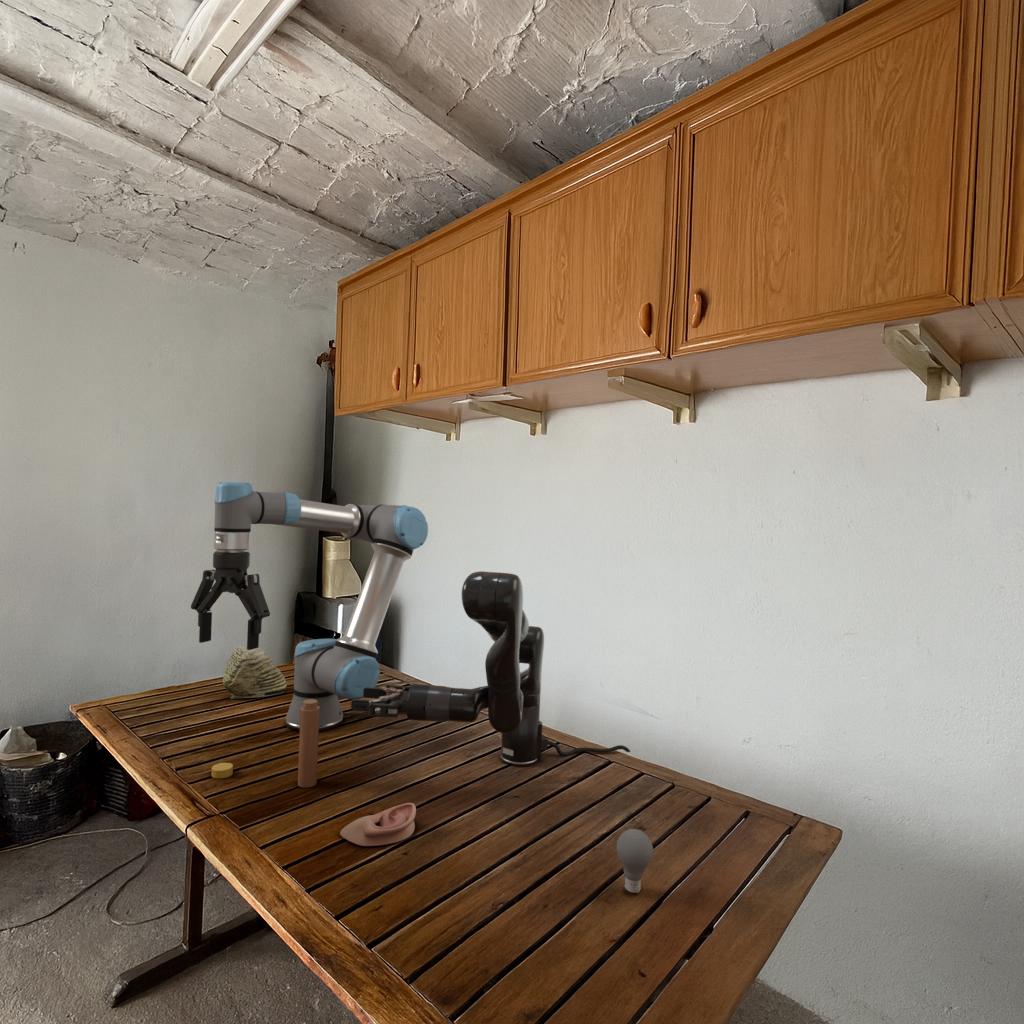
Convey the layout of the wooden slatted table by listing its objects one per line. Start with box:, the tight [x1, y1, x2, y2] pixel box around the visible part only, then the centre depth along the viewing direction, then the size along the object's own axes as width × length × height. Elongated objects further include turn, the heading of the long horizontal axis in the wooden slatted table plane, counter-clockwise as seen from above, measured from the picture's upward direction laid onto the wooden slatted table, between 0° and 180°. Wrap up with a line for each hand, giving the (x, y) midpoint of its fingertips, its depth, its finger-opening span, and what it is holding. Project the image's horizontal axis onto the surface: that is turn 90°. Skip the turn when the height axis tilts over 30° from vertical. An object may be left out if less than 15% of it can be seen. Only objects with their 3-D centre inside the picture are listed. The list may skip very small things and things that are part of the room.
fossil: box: [222, 646, 288, 699], centre depth 198 cm, size 9×18×15 cm, turn 132°
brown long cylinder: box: [297, 699, 320, 789], centre depth 139 cm, size 4×4×18 cm
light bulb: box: [615, 828, 654, 894], centre depth 106 cm, size 6×6×10 cm
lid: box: [211, 762, 234, 779], centre depth 142 cm, size 4×4×2 cm
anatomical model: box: [339, 802, 417, 847], centre depth 121 cm, size 13×4×12 cm
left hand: (228, 645), depth 142 cm, fingers open, 13 cm apart
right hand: (357, 698), depth 139 cm, fingers open, 8 cm apart
